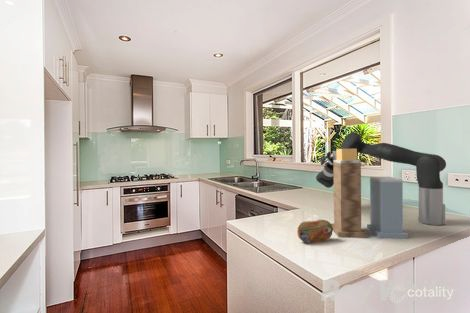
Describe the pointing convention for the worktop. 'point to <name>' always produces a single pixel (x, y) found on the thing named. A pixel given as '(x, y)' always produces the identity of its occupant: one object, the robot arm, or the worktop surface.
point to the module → (345, 154)
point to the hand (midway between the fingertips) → (339, 153)
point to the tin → (315, 231)
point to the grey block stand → (386, 208)
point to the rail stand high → (347, 199)
